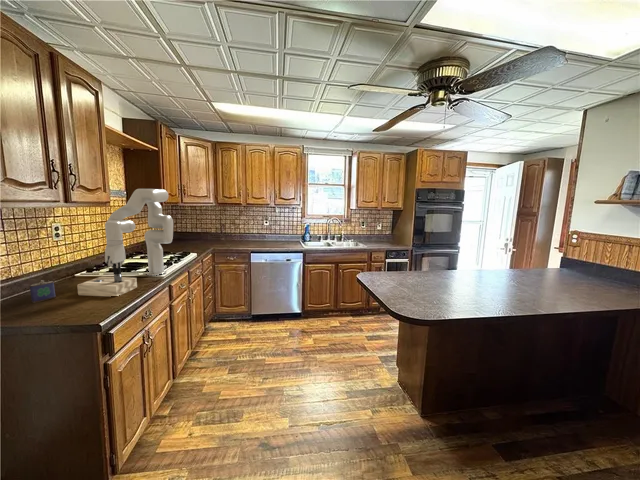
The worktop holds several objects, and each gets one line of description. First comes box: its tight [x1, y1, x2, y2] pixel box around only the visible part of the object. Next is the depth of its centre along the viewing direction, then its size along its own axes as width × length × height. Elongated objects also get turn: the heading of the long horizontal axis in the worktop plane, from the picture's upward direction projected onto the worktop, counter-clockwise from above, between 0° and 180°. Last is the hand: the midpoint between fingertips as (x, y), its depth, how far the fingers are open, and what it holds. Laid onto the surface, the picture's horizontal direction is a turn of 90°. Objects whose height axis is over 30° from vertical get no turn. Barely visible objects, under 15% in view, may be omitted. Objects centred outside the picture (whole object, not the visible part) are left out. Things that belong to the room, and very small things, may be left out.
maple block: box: [77, 276, 138, 297], centre depth 158 cm, size 16×22×6 cm
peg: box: [113, 273, 123, 283], centre depth 157 cm, size 4×4×6 cm
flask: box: [29, 279, 56, 303], centre depth 143 cm, size 9×3×11 cm, turn 152°
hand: (117, 274), depth 157 cm, fingers closed
